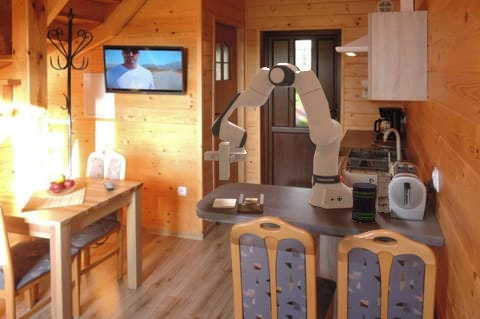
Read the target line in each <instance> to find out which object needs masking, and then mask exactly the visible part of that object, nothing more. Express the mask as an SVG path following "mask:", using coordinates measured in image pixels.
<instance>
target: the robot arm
mask: <svg viewBox="0 0 480 319" xmlns="http://www.w3.org/2000/svg"><path fill="white" fill-rule="evenodd" d="M275 87H277V88H285V89H286V88H290V87H293V88H294V89H295V90H296V93H297V94H298V97H299V100H300V103H301V104H302V105H301V106H302V107H303V110H304V112H305V117H306V120H307V126H308V129H309V130H308V131H309V138H310V140H311V142H312V143H313V144H315V145H316V147H315V152H314V155H313V169H312V170H313V171H312V172H313V173H312V174H311V185H312V188H311V195H310V198H309V201H308V204H310V205H311V206H315V207H320V208H323V209H327V210H328V209H329V210H330V209H352V206H353V198H352V190H351V189H350V188H349V187H348V186H347V185H345V183H343V182H344V180H345V178H344V177H343V176H342V175H340V174H339V172H338V170H339V169H338V168H339V166H338V165H339V153H340V147H341V142H342V134H343V127H342V125H341V123H340V122H339V121H337V120H336V119H333V118H332V117H331V116H332V115H331V113H330V108H329V107H330V105H329V101H328V100H327V97H326V94H325V92H324V90H323V87H322V85H321V83H320V80H319V79H318V77H317V75H316V73H315V72H314V71H313V70H312V69H310V68H309V69H308V68H305V69H302V70H300V68H299V66H297V65H296V64H292V63H286V62H284V63H283V62H282V63H281V62H280V63H275V65H274V64H273V66H271V67H270V68H267V67H261V68H259V69H258V70H257V71H256V73H255V74H254V76H253V77H252V78H251V80H250V82H249V84H248V86H247V88H245V89H244V90H243V91H238V92H237V93H236V94H235V95H234V96H233V97H232V99H231V100H230V101H229V103H228V104H227V106H226V107H225V108H224V109H223V111H222V112H221V114H220V115H219V116H218V117H217V118H216V119H215V120H214V121H213V122H212V125H211V126H210V132H211V134H212V136H213V137H214V138H216V139H219V140H221V141H223V142H230V156H229V161H230V164H231V163H235V162H245V161H248V154H247V150H246V149H245V147H244V146H245V144H246V142H247V140H248V132H247V130H246V129H244V128H243V127H241V126H239V125H237V124H234V123H232V122H231V121H230V120H229V119H228V118H230V117H231V115H232V113H233V112H234V110H236V108H237V109H238V108H239V107H240V108H241V107H245V108H260V107H262V106H264V105H265V104H266V102H267V100H268V99H269V97H270V95H271V93H272V91H273V90H274V88H275ZM203 160H204V161H216V162H217V161H218V162H219V149H218V150H207V151H205V152H204V153H203Z"/></svg>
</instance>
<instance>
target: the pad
mask: <svg viewBox="0 0 480 319" xmlns="http://www.w3.org/2000/svg"><path fill="white" fill-rule="evenodd" d="M236 203H237V198H215V200H214V202H213V204H212V208H215V209H218V208H219V209H220V208H221V209H222V208H223V209H226V208H229V209H235V208H236Z"/></svg>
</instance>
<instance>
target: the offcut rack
mask: <svg viewBox="0 0 480 319" xmlns="http://www.w3.org/2000/svg"><path fill="white" fill-rule="evenodd" d="M244 195H245V193H240V195H239V199H238V206H237V207H238V209H237V210H238V212H256V213H257V212H262V213H263V212H264V201H265V200H264V198H265V197H264V193H260V197H259V198H260V199H259V203H257V204H244V202H245V200H244V199H245V198H244V197H245V196H244Z"/></svg>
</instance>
